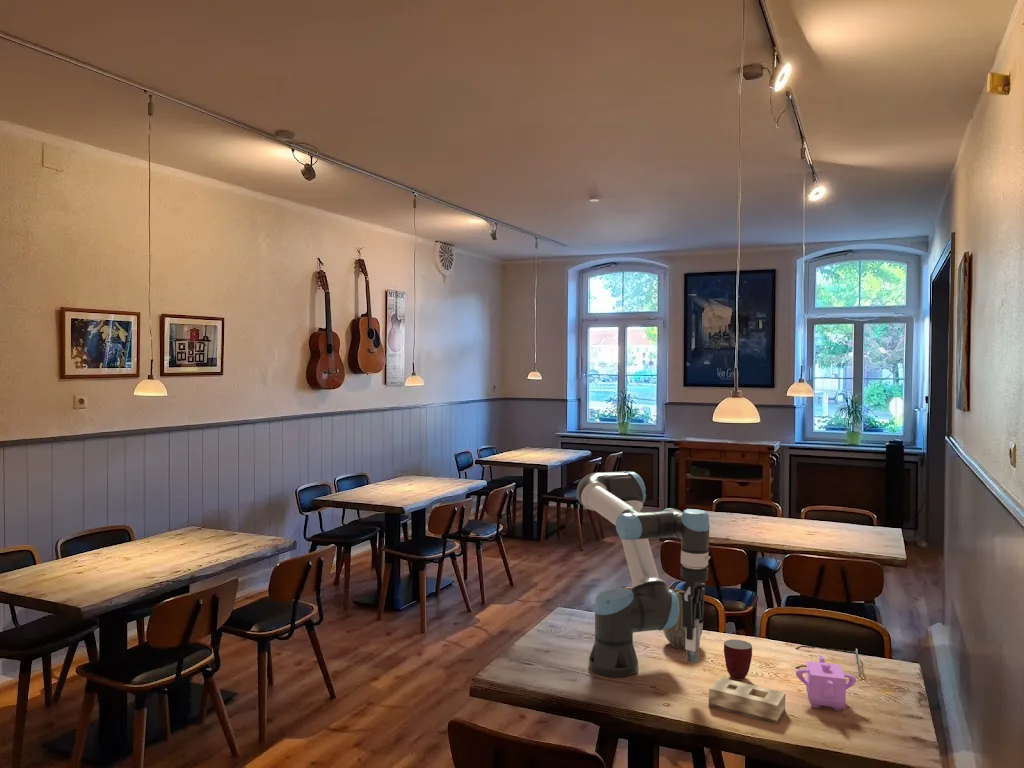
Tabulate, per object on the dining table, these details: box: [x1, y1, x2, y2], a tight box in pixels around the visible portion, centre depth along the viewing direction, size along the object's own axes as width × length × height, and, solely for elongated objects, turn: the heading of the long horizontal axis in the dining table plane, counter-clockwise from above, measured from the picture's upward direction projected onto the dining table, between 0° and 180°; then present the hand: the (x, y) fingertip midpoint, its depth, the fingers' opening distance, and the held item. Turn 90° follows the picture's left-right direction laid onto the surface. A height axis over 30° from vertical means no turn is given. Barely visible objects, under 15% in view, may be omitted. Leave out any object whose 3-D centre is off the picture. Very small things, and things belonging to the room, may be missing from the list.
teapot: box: [795, 655, 857, 711], centre depth 201 cm, size 15×13×11 cm
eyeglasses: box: [794, 645, 862, 677], centre depth 230 cm, size 18×19×4 cm
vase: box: [662, 590, 704, 650], centre depth 243 cm, size 13×13×18 cm
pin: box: [686, 617, 699, 664], centre depth 206 cm, size 3×3×12 cm
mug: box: [723, 639, 753, 681], centre depth 216 cm, size 11×8×10 cm
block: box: [708, 676, 786, 725], centre depth 197 cm, size 18×9×5 cm, turn 57°
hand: (692, 647), depth 206 cm, fingers closed on pin, 3 cm apart
